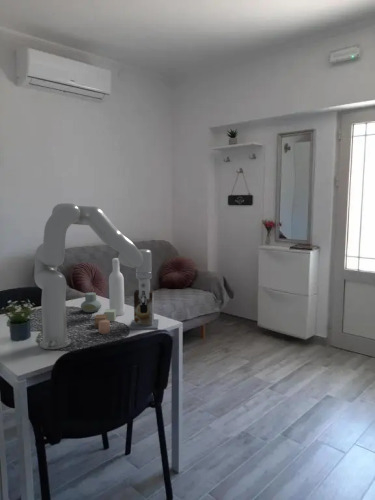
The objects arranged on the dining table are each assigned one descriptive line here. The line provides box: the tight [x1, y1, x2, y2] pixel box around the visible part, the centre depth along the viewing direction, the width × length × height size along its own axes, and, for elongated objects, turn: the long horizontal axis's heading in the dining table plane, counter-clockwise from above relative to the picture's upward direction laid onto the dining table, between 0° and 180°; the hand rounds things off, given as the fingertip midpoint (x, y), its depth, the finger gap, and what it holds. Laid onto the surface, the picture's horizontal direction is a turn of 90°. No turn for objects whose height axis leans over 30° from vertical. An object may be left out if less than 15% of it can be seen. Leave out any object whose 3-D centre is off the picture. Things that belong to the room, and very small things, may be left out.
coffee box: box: [133, 289, 155, 326], centre depth 188 cm, size 9×6×16 cm
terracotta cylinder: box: [98, 320, 111, 335], centre depth 179 cm, size 5×5×5 cm
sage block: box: [103, 308, 117, 322], centre depth 197 cm, size 5×5×5 cm
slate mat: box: [129, 318, 159, 331], centre depth 189 cm, size 13×13×1 cm
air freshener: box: [80, 291, 102, 314], centre depth 213 cm, size 11×8×10 cm
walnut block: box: [94, 314, 107, 329], centre depth 188 cm, size 5×5×5 cm
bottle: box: [108, 257, 126, 317], centre depth 207 cm, size 8×8×30 cm
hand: (144, 309), depth 189 cm, fingers open, 9 cm apart
